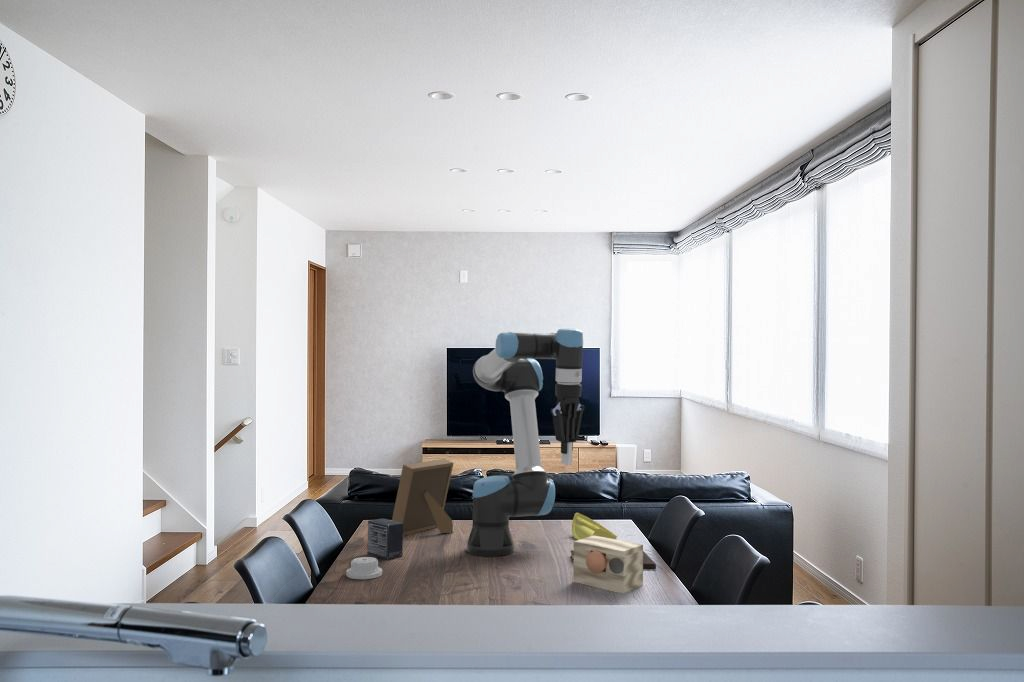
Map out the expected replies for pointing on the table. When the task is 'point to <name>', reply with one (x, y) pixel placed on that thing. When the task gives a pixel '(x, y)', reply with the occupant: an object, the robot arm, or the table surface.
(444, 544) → the table surface
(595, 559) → the plug
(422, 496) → the photo frame
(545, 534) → the table surface
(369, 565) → the mechanical component
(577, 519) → the plastic component
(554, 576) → the table surface
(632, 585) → the socket block
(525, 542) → the table surface
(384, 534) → the small box
